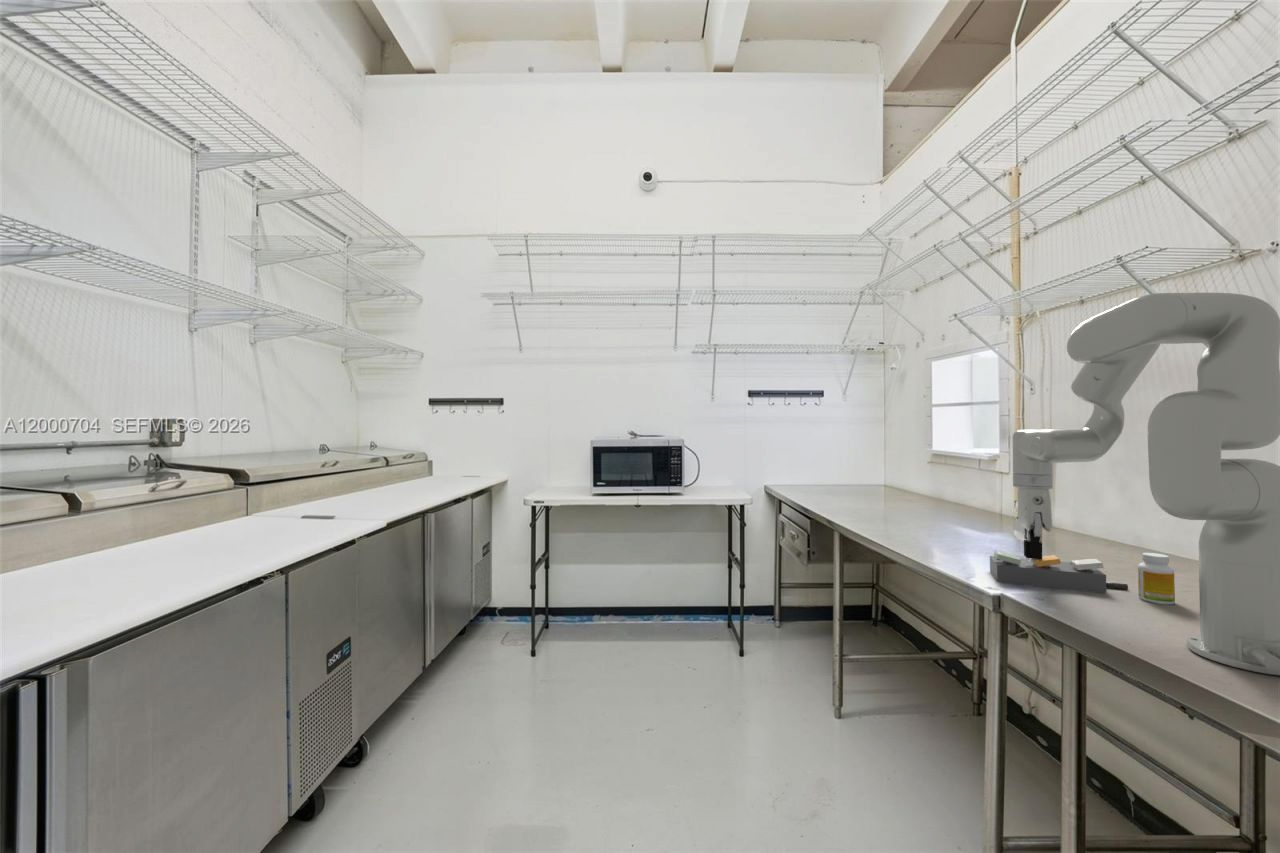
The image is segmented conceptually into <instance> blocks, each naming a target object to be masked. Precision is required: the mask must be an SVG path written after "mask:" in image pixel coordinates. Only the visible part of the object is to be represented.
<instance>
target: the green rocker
mask: <svg viewBox="0 0 1280 853" xmlns="http://www.w3.org/2000/svg"><path fill="white" fill-rule="evenodd" d="M993 556H995V557H996V559H999V560H1003V561H1007V562H1010V563H1014V564H1018V565H1020V562H1021V560H1020V559H1019V558H1020V557H1018V556H1017V555H1013V554H1010V553H1006V552H1002V551H998V550H994V554H993Z"/></svg>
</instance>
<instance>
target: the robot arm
mask: <svg viewBox="0 0 1280 853" xmlns="http://www.w3.org/2000/svg"><path fill="white" fill-rule="evenodd" d="M1067 339H1068V340H1067V344H1066V352H1067V354H1068V356H1069V357H1070V358H1071V359H1072V360H1073V361H1074V362H1077V363H1079V364H1083V365H1082V367H1081V368H1080V370H1079V372H1078V373H1077V375H1076V376H1075V378H1074V379H1073V381H1072V383H1071V384H1070V385H1071V386H1070V387H1071V388H1070V389H1071V390H1072V392H1073V393H1074V395H1076V396H1077V397H1078V398H1079V399H1081V400H1083V401H1084V402H1086V403H1089V404H1091V405H1093V410H1092V413H1091V416H1090V417H1089V419H1088V420H1087V422H1086V423H1085V424H1084V426H1083V427H1082V428H1060V429H1058V428H1054V429H1053V428H1052V429H1051V428H1050V429H1017V430H1015V431H1014V433H1013V434H1012V487H1014V488H1017V517H1018V521H1019V523H1020V524H1021V525H1022V526H1023V527H1024V539H1025V540H1024V541H1023V557H1025V559H1026V558H1029V559H1042V556H1043V530H1045V531H1046V532H1048V533H1049V532H1050V533H1051V532H1052V530H1053V518H1052V516H1053V514H1052V504H1051V501H1052V500H1051V494H1050V490H1052V489H1053V488H1054V487H1053V486H1054V485H1053V484H1054V481H1053V480H1054V479H1053V478H1054V477H1053V476H1054V474H1053V472H1054V471H1053V470H1054V469H1053V466H1054V465H1053V464H1057V463H1058V464H1063V463H1064V464H1065V463H1090V462H1091V463H1092V462H1093V461H1097V460H1099V459H1100V458H1102V457H1103V456H1104V455H1106V454H1107V452H1109V450H1110V449H1111V448H1112V447H1113V445H1114V444H1116V442H1117V440H1118V439H1119V437H1120V436H1121V434H1122V433H1123V430H1124V425H1125V409H1124V406H1123V404H1122V403H1123V402H1122V401H1123V398H1124V397H1125V396H1126V394H1127V393H1128V392H1129V390H1130V388H1131V387H1132V386H1133V385H1134V383H1135V382H1136V380H1137V379H1138V378H1139V376H1140V375H1141V374H1142V372H1143V371H1144V369H1145V368H1146V367H1147V365H1148V363H1150V361H1151V359H1152V358H1153V357H1154V355H1155V354H1156V352H1157V351H1158V349H1159V348H1160V346H1161V345H1165V344H1166V345H1167V344H1168V345H1170V344H1172V345H1173V344H1174V345H1175V344H1176V345H1177V344H1180V345H1181V344H1205V345H1208V346H1207V348H1206V349H1205V350H1204V351H1203V353H1202V354H1201V357H1200V359H1199V360H1198V364H1197V370H1196V375H1197V390H1188V391H1183V392H1182V391H1181V392H1176V393H1174V394H1171V395H1169V396H1166V397H1165V398H1163V399H1162V400H1160V401H1159V402H1158V403H1157V404H1156V405H1155V406H1154V408H1153V410H1152V411H1151V414H1150V415H1149V418H1148V421H1147V453H1148V456H1147V457H1148V477H1149V486H1150V487H1149V488H1150V492H1151V495H1152V497H1153V500H1154V502H1155V503H1156V504H1157V506H1158V507H1159V508H1160V509H1161V510H1162V511H1164V512H1165V513H1167V514H1168V515H1170V516H1171V517H1174V518H1178V519H1181V520H1188V521H1205V522H1204V524H1203V526H1202V528H1201V531H1200V533H1199V534H1200V535H1199V539H1198V583H1199V584H1198V586H1199V588H1198V589H1199V624H1200V625H1199V626H1200V627H1199V629H1200V631H1199V632H1200V633H1199V634H1198V635H1193V636H1188V637H1187V638H1186V647H1187V648H1188V649H1189V650H1191V652H1193V653H1194V654H1195V653H1196V654H1197V655H1198V656H1201V657H1203V658H1206V659H1209V660H1211V661H1214V662H1217V663H1220V664H1223V665H1227V666H1230V667H1233V668H1236V669H1237V668H1238V669H1242V670H1245V671H1249V672H1250V671H1251V672H1255V673H1261V674H1266V675H1273V676H1279V677H1280V465H1278V464H1276V463H1273V462H1270V461H1266V460H1262V459H1261V460H1260V459H1256V458H1254V459H1253V458H1222V451H1241V450H1243V451H1244V450H1245V451H1247V450H1255V449H1260V448H1264V447H1267V446H1269V445H1271V444H1273V443H1274V442H1275V441H1276V440H1277V439H1278V438H1279V437H1280V316H1279V314H1278V312H1277V311H1276V309H1275V308H1274V307H1273V306H1272V305H1271V304H1270V303H1268V302H1266V301H1265V300H1263V299H1261V298H1258V297H1256V296H1251V295H1247V294H1239V293H1232V292H1231V293H1229V292H1161V293H1159V292H1158V293H1151V294H1146V295H1145V294H1144V295H1142V296H1139V297H1136V298H1133V299H1130V300H1128V301H1126V302H1124V303H1122V304H1119V305H1118V306H1115V307H1112V308H1110V309H1108V310H1106V311H1104V312H1101V313H1099V314H1096V315H1095V316H1092V317H1090V318H1089V319H1087V320H1085V321H1083V322H1081V323H1080V324H1079V325H1078V326H1076V327H1075V328H1074V329H1073V330H1072V332H1071V334H1070V335H1069V337H1068V338H1067Z"/></svg>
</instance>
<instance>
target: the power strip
mask: <svg viewBox="0 0 1280 853" xmlns="http://www.w3.org/2000/svg"><path fill="white" fill-rule="evenodd" d="M1018 558H1019V559H1020V560H1021V562H1020V565H1018V564H1014V563H1010V562H1007V561H1003V560H999V559H996V557H995V556H994V555H989V572H990V573H991V575H992V576H993V578H994V579H995V580H996V583H1003V584H1004V583H1005V584H1013V585H1015V584H1016V585H1025V586H1034V587H1041V588H1042V587H1044V588H1045V587H1046V588H1054V589H1063V590H1074V591H1084V592H1093V593H1102V594H1107V589H1115V590H1116V589H1118V590H1126V591H1127V590H1129V586H1128V584H1127V583H1120V582H1109V581H1107V574H1105V573H1104V572H1102V571H1101V570H1099V568H1097V569H1085V570H1077V569H1076V568H1075V567H1073V566H1072V563H1071V561H1070V562H1067V561H1060V562H1061V564H1056V565H1048V566H1040V567H1037V566H1036V565H1035V564H1034V563H1033V562H1032V559H1031V558H1029V559H1026V558H1020V557H1018Z"/></svg>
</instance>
